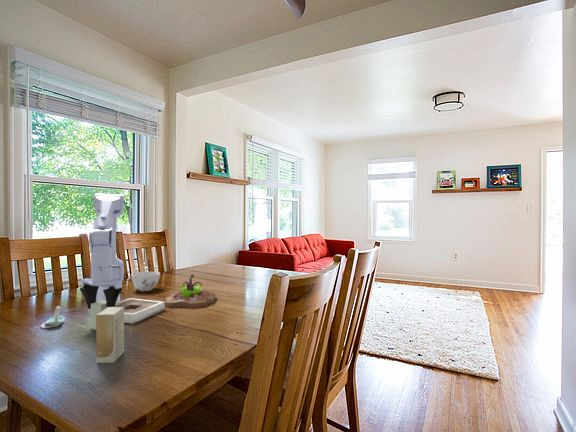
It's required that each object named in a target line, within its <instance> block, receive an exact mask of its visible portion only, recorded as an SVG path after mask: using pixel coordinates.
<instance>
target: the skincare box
mask: <svg viewBox="0 0 576 432" xmlns="http://www.w3.org/2000/svg"><path fill="white" fill-rule="evenodd" d="M95 331H96V334H95V335H96V338H95V339H96V342H95V343H96V347H95V348H96V359H95V360H96V361H95V362H96V364H114V363H115V362H117V360H118V359H119V358H120V357H121V356H122V355H123V354H124V353H125V323H124V307H107V308H106V309H104V310H103V311H101V312H100V313H98V314H97V315H96V330H95Z"/></svg>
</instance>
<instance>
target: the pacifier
mask: <svg viewBox="0 0 576 432" xmlns="http://www.w3.org/2000/svg"><path fill="white" fill-rule="evenodd" d="M61 312H62V308H61V306H59V305H57V306H56V307H55V309H54V313H53V316H52V317H50V318H49V319H48V320H46V321H45V322H43V323H42V324H41V325H40V328H41V329H51V328H55V327H58V326H60V325H61V324H62V323H63V322H64V321H65V320H66V317H65V315H62V314H61Z"/></svg>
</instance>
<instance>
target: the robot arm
mask: <svg viewBox="0 0 576 432" xmlns="http://www.w3.org/2000/svg"><path fill="white" fill-rule="evenodd" d="M124 197H125V195H123V194H122V193H120V194H116V193H115V194H114V193H98V192H97V193H95V194H93V202H92V203H93V208H94V209H93V210H95V213H96V215H98V216H96V217H95V219H94V222H93V223H94V224H93V226H92V227H93V229H92V230H90V231H89V235H88V245H89V252H90V253H91V254H90V278H82V279H80V286H82V287H80V288H79V291H80V292H81V294H82V295H83V297H84V299H85V303H86V305H87V309H88V310H91V304H92V303H95V302H98V301H101V300H102V301H106V306H107V307H115V304H116V303H117V302H120V301H121V292H122V291H123V280H124V277H125V273H124V272H125V267H124V266H125V265H124V262H123V260H121V259H120V258H119V257H117V221H118V218H119V217H120V216H123V214H124V207H125V206H124V205H125V202H124V201H125V198H124Z"/></svg>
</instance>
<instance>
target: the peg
mask: <svg viewBox="0 0 576 432" xmlns="http://www.w3.org/2000/svg"><path fill="white" fill-rule="evenodd" d="M106 308H107V306H106V301H102V300H101V301H98V302H95V303H92V304H91V309H90V330H93V331H96V315H97V314H98V313H100V312H101V311H103V310H104V309H106Z"/></svg>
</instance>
